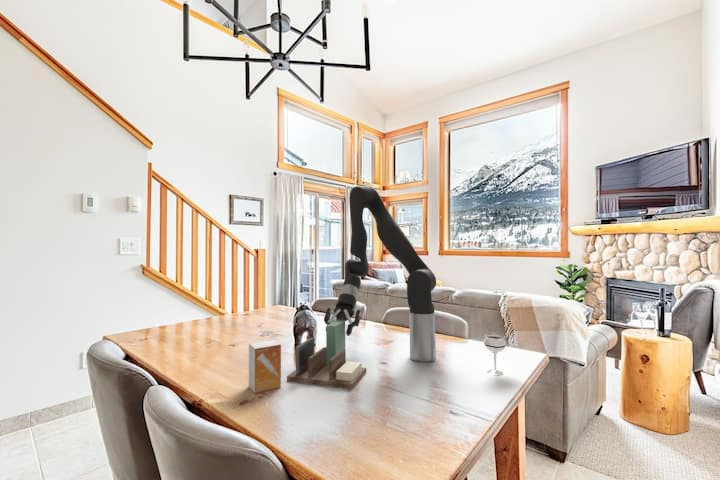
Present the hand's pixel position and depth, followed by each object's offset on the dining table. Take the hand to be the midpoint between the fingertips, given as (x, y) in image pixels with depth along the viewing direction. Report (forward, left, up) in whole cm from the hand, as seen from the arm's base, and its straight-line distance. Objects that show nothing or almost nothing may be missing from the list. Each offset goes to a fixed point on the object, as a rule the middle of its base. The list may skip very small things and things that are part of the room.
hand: (337, 333), depth 128 cm
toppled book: (-11, +17, -8) cm, 21 cm away
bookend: (+5, +17, -8) cm, 19 cm away
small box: (+12, +30, -10) cm, 33 cm away
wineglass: (-55, -2, -10) cm, 56 cm away
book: (0, +2, -10) cm, 10 cm away
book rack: (-3, +17, -10) cm, 19 cm away
